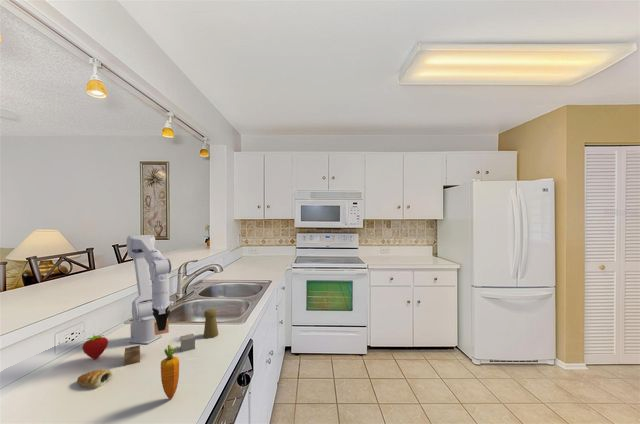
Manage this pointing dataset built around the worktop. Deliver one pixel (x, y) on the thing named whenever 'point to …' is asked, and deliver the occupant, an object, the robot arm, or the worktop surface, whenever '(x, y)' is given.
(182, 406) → the worktop surface
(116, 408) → the worktop surface
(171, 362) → the carrot
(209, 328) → the pepper mill
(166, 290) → the robot arm
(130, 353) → the walnut cube
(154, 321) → the terracotta cube
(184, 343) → the gray cube
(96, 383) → the pastry
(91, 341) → the strawberry
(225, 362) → the worktop surface
